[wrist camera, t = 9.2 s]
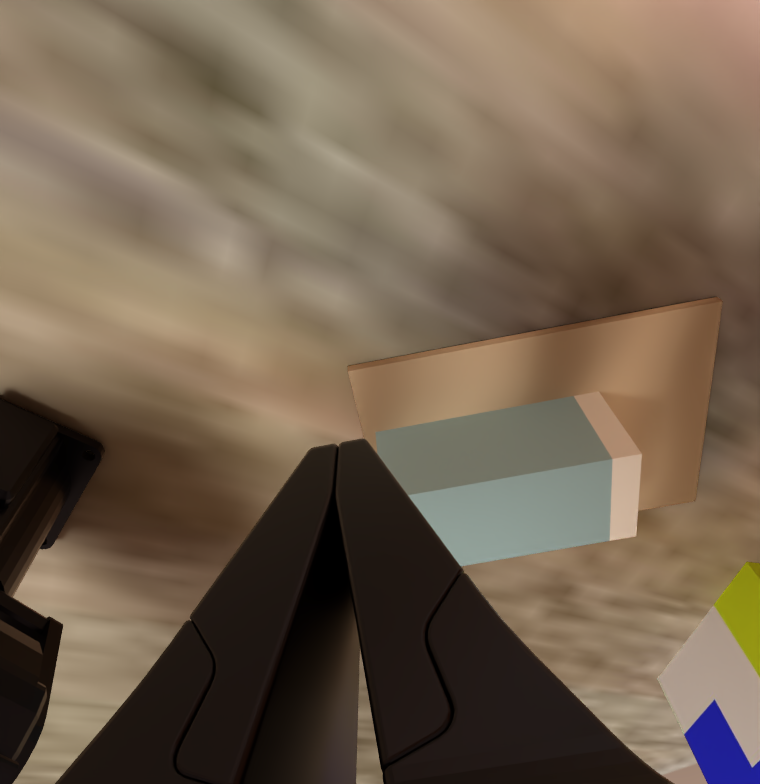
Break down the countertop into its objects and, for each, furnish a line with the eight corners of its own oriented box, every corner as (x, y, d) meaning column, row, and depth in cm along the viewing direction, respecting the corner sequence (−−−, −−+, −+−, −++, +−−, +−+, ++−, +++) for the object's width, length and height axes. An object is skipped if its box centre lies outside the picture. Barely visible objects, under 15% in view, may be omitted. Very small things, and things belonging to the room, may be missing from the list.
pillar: (636, 536, 23) (400, 576, 23) (597, 468, 26) (392, 504, 26) (642, 453, 21) (381, 499, 21) (598, 391, 24) (375, 432, 24)
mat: (717, 296, 22) (722, 301, 22) (690, 495, 28) (695, 500, 27) (347, 366, 23) (347, 371, 23) (391, 547, 28) (392, 553, 28)
